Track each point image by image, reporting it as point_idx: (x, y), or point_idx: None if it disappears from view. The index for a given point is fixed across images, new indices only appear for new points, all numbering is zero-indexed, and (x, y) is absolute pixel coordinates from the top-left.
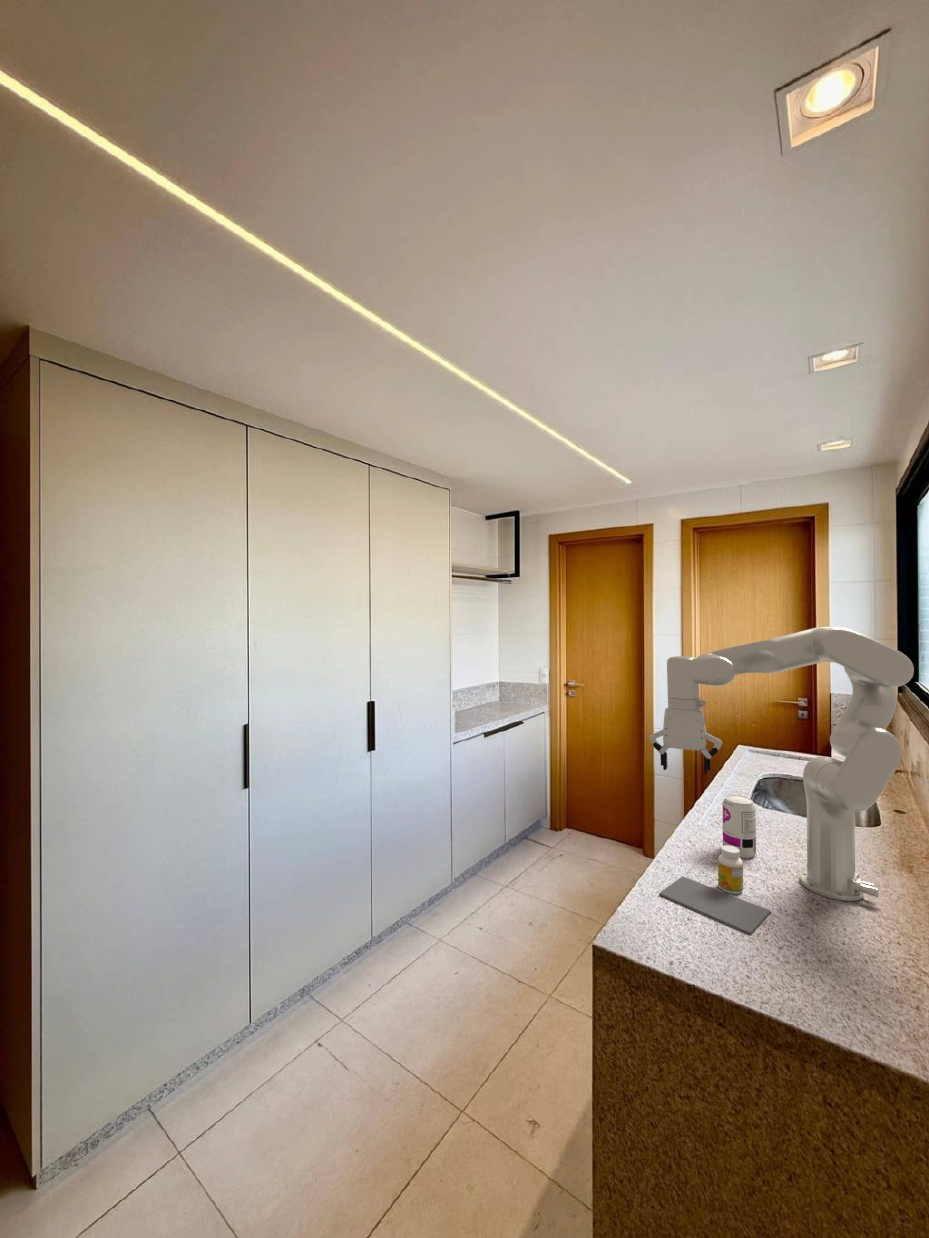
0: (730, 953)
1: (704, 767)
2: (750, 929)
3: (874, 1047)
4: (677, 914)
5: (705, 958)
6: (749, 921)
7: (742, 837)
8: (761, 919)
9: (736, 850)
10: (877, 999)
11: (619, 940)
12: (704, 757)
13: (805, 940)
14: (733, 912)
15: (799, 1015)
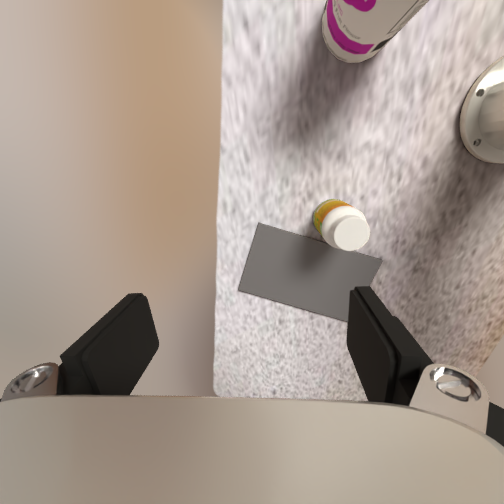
0: (325, 358)
1: (360, 373)
2: None
3: None
4: (267, 319)
5: (302, 375)
6: None
7: (382, 40)
8: None
9: (363, 235)
10: (452, 363)
11: (224, 384)
12: (388, 392)
13: (411, 301)
14: (332, 289)
15: None
